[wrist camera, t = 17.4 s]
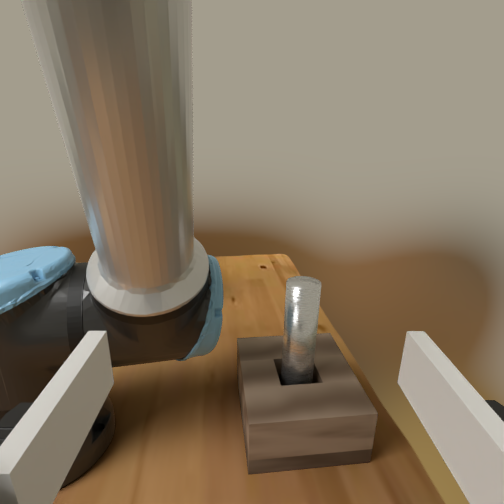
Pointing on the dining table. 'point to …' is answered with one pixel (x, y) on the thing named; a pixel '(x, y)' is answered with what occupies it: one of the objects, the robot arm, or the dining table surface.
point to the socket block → (302, 409)
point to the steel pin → (300, 330)
